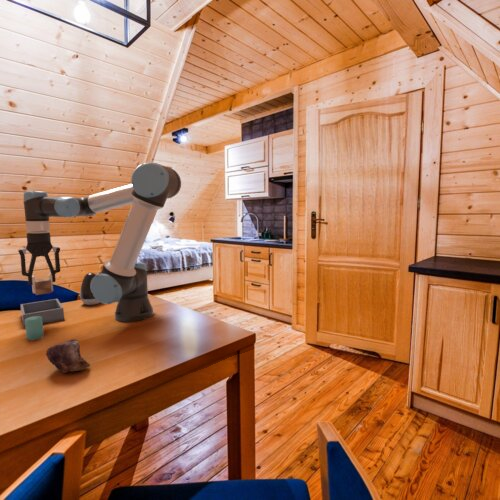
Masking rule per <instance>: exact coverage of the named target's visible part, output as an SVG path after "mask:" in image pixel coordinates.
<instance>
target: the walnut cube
mask: <svg viewBox="0 0 500 500" xmlns="http://www.w3.org/2000/svg"><path fill="white" fill-rule="evenodd" d="M35 291H36V293H35V296H38V295H47V294H52V292H53V291H51V280H50V279H49V277H48V278H46V277H45V278H38V279H36V278H35Z"/></svg>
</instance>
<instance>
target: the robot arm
mask: <svg viewBox="0 0 500 500" xmlns="http://www.w3.org/2000/svg"><path fill="white" fill-rule="evenodd" d="M130 178H131V179H130V182H131V183H130V184H126V185H122V186H120V187H115V188H112V189H109V190H104V191H101V192H97V193H94V194H90V195H86V196H83V197H73V196H48V193H47V192H46V191H42V190H41V191H38V190H37V191H35V190H26V191H24V193H23V202H22V203H23V207H24V208H23V209H24V215H25V219H24V220H25V221H24V222H25V231H26V232H27V233H26V246H25V248H24V247H23V248H21V249H18V250H17V252H18V254H19V256H20V271H21V275H22V276H23V277H27V280H28V281H27V282H28V283H27V284H28V285H29V286H31V289H32V294H35V293H36V291H35V280H36V278H35V275H33V272H34V269H35V265H36V261H37V260H36V259H37V258H38V257H44V260H45V262H46V264H47V267H48V269H49V271H50V273H48V278H49V279H50V280H51V292H54V286H53V285H54V283H55V282H56V280H57V278H56V274H57V273H60V272H61V262H60V261H61V260H60V251H61V247H58V246H53V244H52V242H51V241H52V240H51V239H52V238H51V233H50V231H51V227H50V217H51V218H52V217H53V218H54V217H55V218H74V217H93V216H95V215H96V214H98V213H102V212H105V211H110V210H114V209H117V208H123V207H125V206H126V207H127V206H129V205H131V206H130V209H129V212H128V214H127V216H126V219H125V221H124V225H123V227H122V229H121V233H120V235H119V237H118V240H117V242H116V245H115V248H114V250H113V252H112V254H111V258H110V259H109V260H106V261H105V262H104V263H103V265H102V268H101V271H100V272H99V273H100V274H98V273H96V274H97V275H96V276H95V277H94V278H93V279H92V280H91V284H90V289H91V292H92V293H93V296H94V297H95V298H96V299H97V300H98V301H99V302H100V303H101V304H104V305H111V304H114V303H117V304H116V308H115V311H114V319H115V320H116V321H119V322H125V323H126V322H128V323H129V322H139V321H142V320H145V319H149V318H150V317H152V316H153V315H154V308H153V306H152V304H151V303H152V302H151V300H150V299H149V294H148V293H149V292H148V291H149V289H148V270H147V264H146V263H145V262H138V261H137V260H138V258H139V256H140V253H141V251H142V248H143V246H144V243H145V241H146V239H147V236H148V234H149V232H150V229H151V226H152V224H153V221H154V219H155V217H156V214H157V212H158V210H160V209H162V208H164V206H165V205H166V201H167V200H168V199H171V198H173V197H175V196H176V195H178V194H179V192H180V191H181V187H182V179H181V177H180V175H179V173H178V172H177V171H176V170H175V169H173V168H172V167H168V166H165V165H163V164H160V163H157V162H143V163H141V164H139V165H138V166H137V167H136V168H135V169H134V170H133V172H132V175H131V177H130ZM51 251H52V252H53V254H54V265H53V264H52V261H51V258H50V255H49V253H50V252H51ZM27 252H29V254H30V255H31V257H30V262H29V267H28V271H27V267H26V266H27V265H26V256H25V255H26V254H27ZM54 266H55V268H54ZM35 295H36V294H35Z"/></svg>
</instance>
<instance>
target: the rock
mask: <svg viewBox="0 0 500 500" xmlns="http://www.w3.org/2000/svg"><path fill="white" fill-rule="evenodd" d="M80 349H81V348H80V341H79V340H78V339H71V340H67V341H64V342H62V343H58V344H55V345H53V346H50V347H47V349H46V352H45V356H46V357H47V360H48V361H49V362H50V364H52V365H53V366H54V367H55V368H56V370H58V371H60V373H63V374H66V373H69V372H78V371H83V370H85V369H87V368H89V367H90V366H91V365H90V363H89V362H88V361H87V360H86V359H85V358H84V357H82V356H81V351H80Z"/></svg>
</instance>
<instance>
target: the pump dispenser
mask: <svg viewBox="0 0 500 500" xmlns="http://www.w3.org/2000/svg"><path fill="white" fill-rule="evenodd" d="M100 273H101V272H98V273H94V272H87V273H86V274H85V275H84V277H83V279H82V282H81V285H80V288H79V289H80V290H79V299H80V300H81V301H82V303H83V304H84V305H87V306H94V305H98V304H100V303H101V302H99V301H98V300H97V299H96V298H95V297H94V296H93V293H92V292H91V289H90V284H91V280H92V279H93V278H94V277H95V276H96V275H97V274H100Z"/></svg>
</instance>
